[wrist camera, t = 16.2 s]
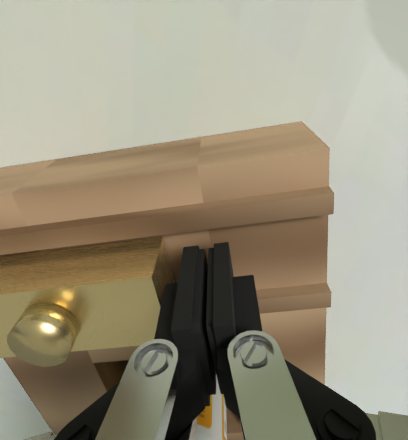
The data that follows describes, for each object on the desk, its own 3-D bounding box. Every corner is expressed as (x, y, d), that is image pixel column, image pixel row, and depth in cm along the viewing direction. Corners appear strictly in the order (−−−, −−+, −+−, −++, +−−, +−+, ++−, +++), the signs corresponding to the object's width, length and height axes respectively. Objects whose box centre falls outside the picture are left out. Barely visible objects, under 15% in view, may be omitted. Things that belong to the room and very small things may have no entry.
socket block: (307, 398, 24) (337, 517, 18) (98, 412, 26) (62, 525, 20) (302, 121, 14) (362, 179, 9) (-29, 172, 16) (-172, 250, 10)
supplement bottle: (239, 352, 22) (254, 548, 13) (175, 379, 23) (152, 569, 15) (193, 300, 20) (176, 493, 11) (125, 333, 21) (67, 525, 13)
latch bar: (178, 295, 14) (167, 367, 11) (5, 313, 15) (-49, 384, 12) (162, 236, 13) (145, 299, 10) (-27, 259, 13) (-98, 324, 10)
